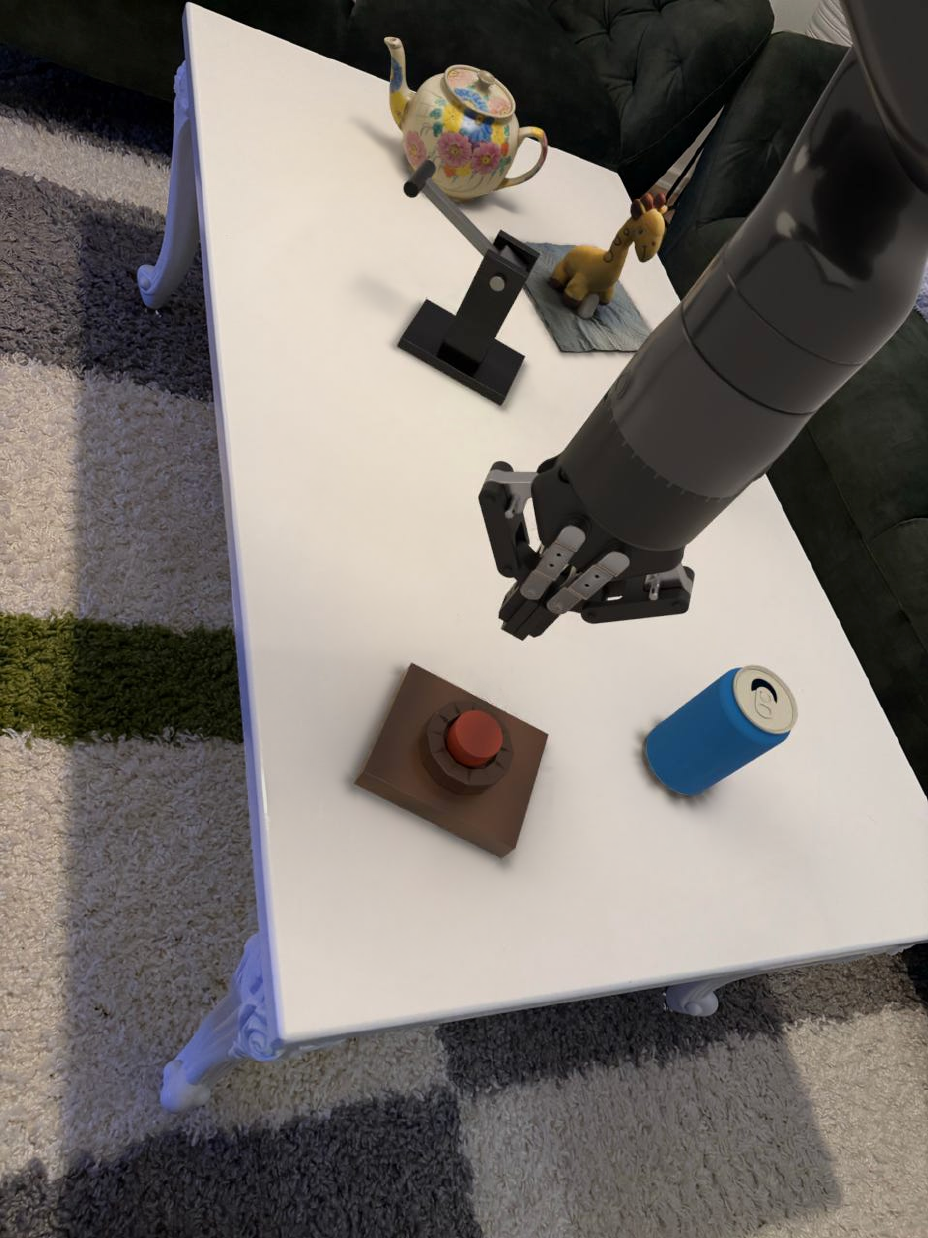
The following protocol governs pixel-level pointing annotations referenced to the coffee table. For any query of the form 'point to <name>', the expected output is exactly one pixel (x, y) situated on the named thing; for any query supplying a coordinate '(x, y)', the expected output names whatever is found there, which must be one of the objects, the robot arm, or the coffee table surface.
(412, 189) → the lever
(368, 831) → the coffee table surface
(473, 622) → the coffee table surface
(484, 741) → the button
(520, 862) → the coffee table surface
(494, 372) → the bracket
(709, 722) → the beverage can
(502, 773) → the button block
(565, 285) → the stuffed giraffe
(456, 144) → the teapot
